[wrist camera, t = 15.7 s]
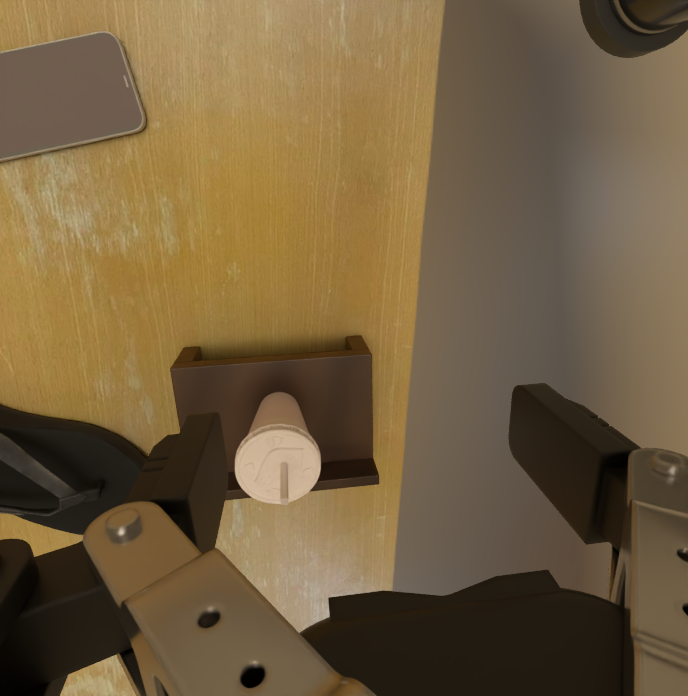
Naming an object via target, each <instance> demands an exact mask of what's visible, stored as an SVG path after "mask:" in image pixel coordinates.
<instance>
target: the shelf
mask: <svg viewBox="0 0 688 696" xmlns="http://www.w3.org/2000/svg"><path fill="white" fill-rule="evenodd" d="M346 346H347V350H345V351H331V352H317V353H303V354H289V355H275V356H261V357H247V358H233V359H219V360H205V361H202V357H201V350H200V347H185V348H183V350H182V351H181V353H180V354H179V356H178V358H177V359H176V361H175V362H174V364H173V365H172V367H171V368H170V371H171V377H172V383H173V390H174V396H175V402H176V408H177V414H178V420H179V426H180V431H181V429H182V427H183V425H184V422H185V420H186V418H187V416H188V415H189V414H199V413H210V412H218V413H219V415H220V419H221V424H222V431H223V437H224V444H225V450H226V457H227V464H228V488H227V493H226V497H225V500H233V499H242V498H252V497H251V496H249V495H248V494H247V493H246V492H245V491H244V490H243V489H242V488H241V486H240V485H239V483H238V481H237V479H236V475H235V457H236V452H237V449H238V447H239V446H240V444H241V442H242V441H243V440H244V439H245V438H246V437H247V436H248V433H249V431H250V428H251V426H252V423H253V421H254V419H255V416H256V414H257V411H258V409H259V406H260V404H261V402H262V400H263V399H264V398H265V397H266V396H268V395H269V394H272V393H275V392H284V393H287V394H289V395H291V396H292V397H294V398H295V400H296V401H297V403H298V405H299V408H300V411H301V413H302V416H303V419H304V421H305V424H306V427H307V429H308V432H309V435H310V436H311V437H312V438H313V439H314V441H315V442H316V443H317V445H318V448H319V451H320V456H321V470H320V475H319V478H318V480H317V482H316V484H315V485H314V486H313V488H312V489H311V490H310V491H318V490H328V489H337V488H347V487H356V486H366V485H375V484H379V474H378V471H377V468H376V465H375V462H374V459H373V414H372V354H371V352H370V350H369V348H368V347H367V345H366V343H365V341H364V340H363V338H362V336H347V337H346Z"/></svg>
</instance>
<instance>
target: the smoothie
mask: <svg viewBox="0 0 688 696" xmlns="http://www.w3.org/2000/svg"><path fill="white" fill-rule="evenodd" d="M320 470H321V456H320V451H319V448H318V445H317V443H316V442H315V441H314V439H313V438H312V437H311V436H310V435H309V432H308V429H307V427H306V424H305V421H304V419H303V416H302V413H301V411H300V408H299V405H298V403H297V401H296V400H295V398H294V397H292V396H291V395H289V394H287V393H284V392H275V393H272V394H269V395H268V396H266V397H265V398H264V399H263V400H262V402H261V404H260V406H259V409H258V411H257V414H256V416H255V419H254V421H253V423H252V426H251V428H250V431H249V433H248V436H247V437H246V438H245V439H244V440H243V441H242V442H241V444H240V446H239V447H238V449H237V452H236V457H235V475H236V479H237V481H238V483H239V485H240V486H241V488H242V489H243V490H244V491H245V492H246V493H247V494H248V495H249V496H251V497H252V498H254V499H256V500H258V501H261V502H265V503H270V504H282V505H287V504H288V502H292V501H294V500H297V499H299V498H301V497H302V496H304V495H305V494H307V493H308V492H309V491H310V490H311V489H312V488H313V486H314V485H315V484H316V482H317V480H318V478H319V475H320Z"/></svg>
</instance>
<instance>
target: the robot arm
mask: <svg viewBox="0 0 688 696" xmlns="http://www.w3.org/2000/svg"><path fill="white" fill-rule="evenodd" d="M609 4H610V7H611V10H612V12H613V14H614V16H615V18H616V19H617V20H618V22H619V23H620V24H621V25H622V26H623V27H624V28H625V29H627V30H628V31H630V32H632V33H634V34H637V35H641V36H651V35H656V34H660V33H662V32H664V31H667V30H669V29H671V28H673V27H675V26H677V25H679V24H680V23H682V22H685V21H687V20H688V0H609ZM509 445H510V450H511V452H512V455H513V457H514V458H515V459H516V461H517V462H518V463H519V464H520V466H521V467H522V468H523V469H524V470H525V472H526V473H527V474H528V475H529V477H530V478H531V479H532V480H533V481H534V482H535V484H536V485H537V486H538V487H539V489H540V490H541V491H542V492H543V493H544V495H545V496H546V497H547V498H548V499H549V500H550V502H551V503H552V504H553V505H554V506H555V508H556V509H557V510H558V511H559V513H560V514H561V515H562V516H563V517H564V519H565V520H566V521H567V522H568V523H569V525H570V526H571V527H572V528H573V529H574V530H575V532H576V533H577V534H578V535H579V537H580V538H581V539H582V540H583V541H584V543H585V544H594V543H602V542H610V543H611V544H612V548H611V554H610V559H609V573H608V588H607V600H606V599H603V598H600V597H598V596H595V595H591V594H587V593H584V592H580V591H576V590H571V589H565V588H560V587H559V585H558V584H557V583H556V581H555V580H554V578H553V576H552V575H551V574H550V572H549V571H548V570H542V571H534V572H526V573H518V574H511V575H503V576H496V577H493V578H491V579H488V580H485V581H483V582H480V583H478V584H475V585H473V586H470V587H468V588H465V589H463V590H460V591H458V592H455V593H453V594H450V595H446V596H435V595H426V594H415V593H404V592H403V593H402V592H393V591H378V592H370V593H362V594H354V595H346V596H338V597H331V598H329V612H330V617H329V618H326V619H324V620H322V621H319V622H317V623H315V624H314V625H312V626H310V627H308V628H306V629H305V630H303V631H302V632H300V633H298V632H297V631H296V629H295V628H294V627H293V626H292V625H291V624H290V623H289V622H288V621H287V620H286V619H285V618H284V617H283V616H282V615H281V614H280V613H279V612H278V611H277V610H276V609H275V607H274V606H273V605H272V604H271V603H270V602H269V601H268V600H267V599H266V598H265V597H264V596H263V595H262V594H261V593H260V592H259V591H258V590H257V589H256V588H255V587H254V585H253V584H252V583H251V582H250V581H249V580H248V579H247V578H246V577H245V576H244V575H243V574H242V573H241V572H240V571H239V570H238V569H237V568H236V567H235V566H234V565H233V564H232V562H231V561H230V560H229V559H228V558H227V557H226V556H225V555H224V554H223V553H222V552H221V551H220V550H218V549H217V548H215V544H216V539H217V534H218V530H219V525H220V520H221V516H222V511H223V507H224V502H225V497H226V493H227V488H228V464H227V457H226V450H225V444H224V437H223V431H222V424H221V419H220V415H219V413H218V412H210V413H199V414H189V415H188V416H187V418H186V420H185V422H184V425H183V427H182V429H181V431H180V433H179V434H173V435H167V436H166V437H165V438H164V439H162V440H161V441H160V442H159V443H158V444H156V445H155V446H154V447H153V449H152V451H151V453H150V455H149V456H148V458H147V462H145V464H144V466H143V468H142V469H141V472H140V473H139V475H138V477H137V479H136V481H135V482H134V484H133V486H132V488H131V490H130V492H129V494H128V495H127V497H126V499H125V501H124V503H123V505H120V506H117V507H115V508H112V509H110V510H108V511H106V512H105V513H103V514H102V515H100V516H99V517H97V518H96V519H95V520H94V521H93V522H92V523H91V524H90V525H89V526H88V527H87V529H86V531H85V532H84V535H83V541H81V542H79V543H77V544H74V545H71V546H68V547H65V548H62V549H58V550H55V551H52V552H49V553H46V554H43V555H40V556H36V557H34V555H33V552H32V549H31V547H30V545H29V544H28V543H27V542H26V541H24V540H20V539H4V540H0V696H60V694H61V691H62V689H63V686H64V684H65V681H66V679H67V676H68V674H70V673H73V672H75V671H77V670H80V669H82V668H85V667H87V666H89V665H92V664H94V663H97V662H99V661H101V660H104V659H106V658H109V657H111V656H113V655H117V658H118V660H119V662H120V664H121V666H122V668H123V670H124V672H125V674H126V676H127V678H128V680H129V682H130V684H131V686H132V688H133V690H134V692H135V694H136V696H688V457H686V456H684V455H682V454H679V453H676V452H673V451H669V450H664V449H657V448H640V447H639V446H638V445H636V444H635V443H633V442H632V441H631V440H630V439H628V438H627V437H625V436H624V435H623V434H621V433H620V432H619V431H617V430H616V429H614V428H613V427H612V426H609V424H608V423H606V422H605V421H604V420H602V419H601V418H598V416H597V415H596V414H594V413H593V412H591V411H590V410H589V409H587V408H586V407H585V406H583V405H580V404H578V403H575V402H573V401H571V400H568V399H566V398H564V397H563V396H561V395H560V394H559V393H557V392H556V391H555V390H553V389H552V388H551V387H550V386H548V385H547V384H545V383H539V384H528V385H517V386H516V387H515V388H514V390H513V393H512V402H511V414H510V425H509Z"/></svg>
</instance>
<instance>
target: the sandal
mask: <svg viewBox="0 0 688 696" xmlns="http://www.w3.org/2000/svg"><path fill="white" fill-rule="evenodd" d="M145 462H147V459H146V458H145V457H144V456H143V455H142V454H141V453H140V452H139V451H138V450H137V449H136V448H134V447H133V446H132V445H131V444H129V443H128V442H127V441H126V440H124V439H122V438H121V437H119V436H117V435H115V434H114V433H111V432H109V431H107V430H105V429H103V428H100V427H97V426H94V425H91V424H86V423H81V422H75V421H70V420H62V419H56V418H49V417H44V416H38V415H33V414H28V413H24V412H20V411H16V410H13V409H10V408H7V407H4V406H1V405H0V513H8V514H13V515H16V516H18V517H20V518H23V519H25V520H28V521H31V522H34V523H37V524H40V525H43V526H46V527H50V528H53V529H57V530H61V531H65V532H69V533H74V534H79V535H84V532H85V531H86V529H87V527H88V526H89V525H90V524H91V523H92V522H93V521H94V520H95V519H96V518H97V517H99V516H100V515H102V514H103V513H105V512H106V511H108V510H110V509H112V508H115V507H117V506H120V505H123V503H124V501H125V499H126V497H127V495H128V494H129V492H130V490H131V488H132V486H133V484H134V482H135V481H136V479H137V477H138V475H139V473H140V472H141V469H142V468H143V466H144V464H145Z"/></svg>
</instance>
